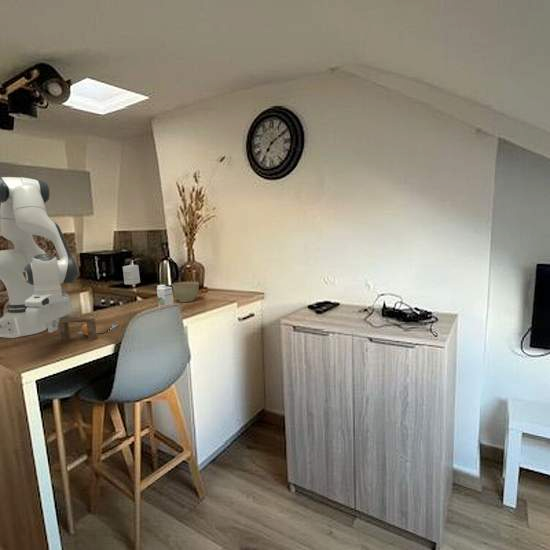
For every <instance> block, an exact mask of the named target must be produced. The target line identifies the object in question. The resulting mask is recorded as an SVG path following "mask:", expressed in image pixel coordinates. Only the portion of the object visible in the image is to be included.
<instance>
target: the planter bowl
mask: <svg viewBox="0 0 550 550" xmlns="http://www.w3.org/2000/svg"><path fill="white" fill-rule="evenodd" d="M199 286H200V282H198V281H180V282H174V283H172V284H171V287H172V293H173V294H174V296H175V297H176V298H177V300H178V302H180V303H190V302H193V301H195V300H196V296H197V295H198V292H199V288H200V287H199Z"/></svg>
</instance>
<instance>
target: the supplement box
mask: <svg viewBox="0 0 550 550" xmlns="http://www.w3.org/2000/svg"><path fill="white" fill-rule="evenodd" d="M122 272H123V273H122V274H123V275H122V276H123V281H124V285H133V286H134V285H137V284H139V283H141V278H140V269H139V264H129V265H124V266H122Z"/></svg>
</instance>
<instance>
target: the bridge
mask: <svg viewBox="0 0 550 550" xmlns="http://www.w3.org/2000/svg"><path fill="white" fill-rule="evenodd" d="M69 323H85V324H86V323H87V331H88V336H87V339H88V341H95V340H96V338H97V339H98V334H97V332H96V325H97V323H96V318H95V317H93V316H92V317H61V318H59V323H58V326H59V335H60V339H61V340H66V341H68V340H70V339H71V334H70V327H69ZM69 338H70V339H69ZM67 339H68V340H67ZM94 339H95V340H94ZM61 340H60V341H61Z"/></svg>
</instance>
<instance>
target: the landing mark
mask: <svg viewBox="0 0 550 550" xmlns="http://www.w3.org/2000/svg"><path fill="white" fill-rule="evenodd" d="M111 325H112V328H110V331H111V330H114V329H115V328H117V327H118V325H119V324H111ZM116 326H117V327H116ZM108 332H109V330H108ZM76 335H84V334H83V333H82V330H81V331H79V332H77V333H76Z"/></svg>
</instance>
